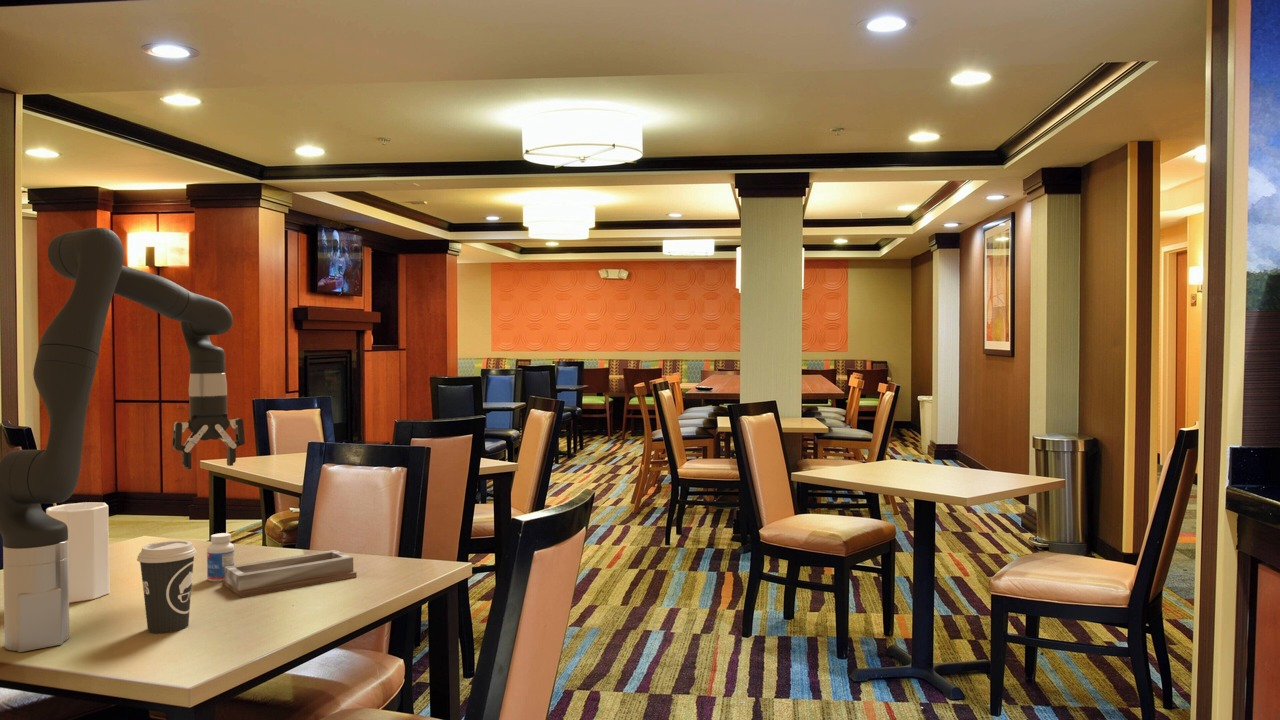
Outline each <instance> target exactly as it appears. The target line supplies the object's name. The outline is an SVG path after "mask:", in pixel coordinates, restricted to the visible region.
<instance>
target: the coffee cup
mask: <svg viewBox="0 0 1280 720" xmlns="http://www.w3.org/2000/svg"><path fill="white" fill-rule="evenodd" d="M197 554H198V551H197V549H196V548H195V547H194V546H193V543H192V541H190V540H164V541H158V542H153V543H149V544H145V545H143V546H142V547H141V550H140V552H139V553H138V555H137V559H136V561H137V562H139V564H140V565H139V566H140V572H141V581H142V590H143V599H144V600H143V601H144V609H145V616H146V626H147V627H146V628H147V632H148V633H151V634H168V633H174V632H178V631H181V630H184V629H186V628H187V627H188V626H189V623H190V611H191V610H190V608H191V596H192V584H193V572H194V563H195V562H194V561H195V560H194V559H195V556H197Z"/></svg>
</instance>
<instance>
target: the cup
mask: <svg viewBox="0 0 1280 720" xmlns="http://www.w3.org/2000/svg"><path fill="white" fill-rule="evenodd" d="M45 513H46V514H48V515H49V516H51V517H52V518H55V519H57V520H60V521H62V522H64V523H65V524H66V525H67V527H68V580H69V604H73V603H80V602H87V601H93V600H96V599H98V598H101V597H103V596H107V595H109V594H110V541H109V540H110V539H109V538H110V535H109V531H110V530H109V529H110V527H109V524H110V523H109V505H108V504H107V503H106V502H95V501H94V502H92V501H91V502H90V501H89V502H87V501H85V502H84V501H83V502H77V503H66V504H65V503H64V504H60V505H54V506H49V507H47V508H46V509H45Z"/></svg>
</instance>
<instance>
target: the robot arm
mask: <svg viewBox="0 0 1280 720" xmlns="http://www.w3.org/2000/svg"><path fill="white" fill-rule="evenodd" d="M124 255H125V251H124V246H123V243H122V240H121V239H120V237H119V236H118V234H116V233H115V232H114V231H113V230H112V229H110V228H106V227H91V228H90V227H89V228H85V229H79V230H72V231H68V232H63V233H61V234H59V235H57V236H55V237H54V238H53V239H52V240H51V241H50V242H49V244H48V246H47V259H48V262H49V264H50V265H51V267H52V268H53V270H54V271H56V273H58V274H59V275H60V276H62V277H63V278H66V279H69V280H72V281H75V282H74V286H73V289H72V291H71V293H70V295H69V298H68V299H67V301H66V303H64V305H63V306H62V308H61V309H60V310H59V312H58V313H56V315H55V317H54V318H53V320H51V321H50V323H49V325H48V326H47V327H46V329H45V330H44V332H43V334H42V336H41V338H40V341H39V344H38V349H37V352H36V358H35V360H34V361H35V362H34V366H33V373H32V375H33V380H34V384H35V387H36V388H37V391H38V393H39V396H40V397H41V401H42V403H43V404H44V406H45V408H46V411H47V415H48V418H49V431H48V432H49V434H48V439H47V444H46V448H45V449H16V450H12V451H9V452H7V453H6V454H4V456H2V458H1V460H0V535H1V537H2V549H3V551H2V552H3V553H2V554H3V555H2V557H3V558H2V560H3V561H2V562H3V567H2V571H3V625H4V627H3V629H4V630H3V633H4V649H6V650H8V651H17V652H18V653H22V652H28V651H33V650H38V649H44V648H49V647H54V646H60V645H63V643H64V642H66V641H68V640H69V639H70V603H69V580H68V527H67V525H66V524H65V523H64V522H62V521H60V520H57V519H55V518H52V517H51V516H49V515H48V514H46V511H44V510H43V508H42V504H59V503H61V504H62V503H64V502H65V501H67V500H68V499H70V498H71V497H72V495H73V494H74V492H75V490H76V488H77V486H78V481H79V478H80V474H81V473H80V472H81V465H82V457H83V445H84V443H83V442H84V437H85V436H84V433H85V426H86V419H87V411H88V409H89V400H90V397H91V392H92V388H93V387H92V386H93V383H94V379H95V375H96V370H97V367H98V362H99V361H98V360H99V356H100V351H101V343H102V340H103V339H102V338H103V334H104V329H105V326H106V321H107V317H108V313H109V309H110V305H111V303H112V299H113V295H114V294H115V295H117V296H120V297H122V298H125V299H127V300H130V301H133V302H134V303H137V304H139V305H142V306H144V307H146V308H147V309H150V310H152V311H153V312H156V313H158V314H160V315H161V316H163V317H166V318H168V319H169V320H173V321H178V322H180V327H181V328H180V329H181V332H182V335H183V339H184V342H185V345H186V349H187V351H188V354H189V381H188V382H189V383H188V396H189V397H188V400H189V401H188V402H189V404H188V405H189V419H188V421H187V422H180V421H174V422H173V424H172V425H173V426H172V443H171V444H172V445H171V447H172V449H173V450H175V451H180V452H181V462H182V463H181V464H182V467H184V468H185V470H188V471H189V470H192V469H193V468H192V467H193V466H192V449H193V448H194V446H195V445H197V444H198V442H199V441H209V440H214V441H215V440H216V441H217V440H219V439H220V440H221V441H222V442H223V443H224V444H225V445H226V446H227V448H226V465H227V466H229V467H232V466H234V464H235V463H236V462H237V452H236V451H237V448H238V447H240V446H244V445H245V444H246V441H245V439H246V438H245V430H244V429H245V427H244V419H243V418H238V417H236V418H235V419H229V417H228V382H227V375H226V374H227V373H226V353H225V350H224V349H223V347H219V346H217V345H214V344H213V343H212V341H211V338H210V336H221V335H223V334H226V333H227V332H228V331H230V330H231V328H232V326H233V325H234V324H233V323H234V317H233V314H232V312H231V310H230V308H228V306H226V305H225V304H224V303H222V302H220V301H218V300H217V299H213V298H210V297H207V296H204V295H201V294H198V293H194V292H192V291H189V290H188V289H186V288H184V287H183V286H181V285H179V284H177V283H176V282H174V281H172V280H170V279H168V278H165V277H163V276H161V275H157V274H153V273H150V272H147V271H143V270H140V269H136V268H133V267H129V266H126V265H124V257H125V256H124ZM230 426H231V427H232V429H234V434H235V440H233V439H232V437H231V436H230V435H229V434H228V433H227V430H228V428H229V427H230ZM187 428H188V430H189V431H190V432H191V434H190V435H189V436H188V438H187V439H186V441H185V443H184V444H183V445H182V443H183V442H182V440H183V433H184V432H185V431H186V429H187Z"/></svg>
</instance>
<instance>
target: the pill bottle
mask: <svg viewBox="0 0 1280 720" xmlns="http://www.w3.org/2000/svg"><path fill="white" fill-rule="evenodd" d="M231 539H232V534H231V533H227V532H221V533H220V532H219V533H215V534H211V535H210V543H211V544H210V545H209V546H208V547H207V549H206V551H207V552H206V558H207V559H206V561H207V563H206V564H207V566H206V567H207V568H206V569H207V571H206V573H207V576H206V577H207V580H208V581H209V582H215V583H216V582H223V580H222V579H225V567H227V566H234V565H235V546H234V545H235V544H233V543H232V542H231V541H232V540H231Z"/></svg>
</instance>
